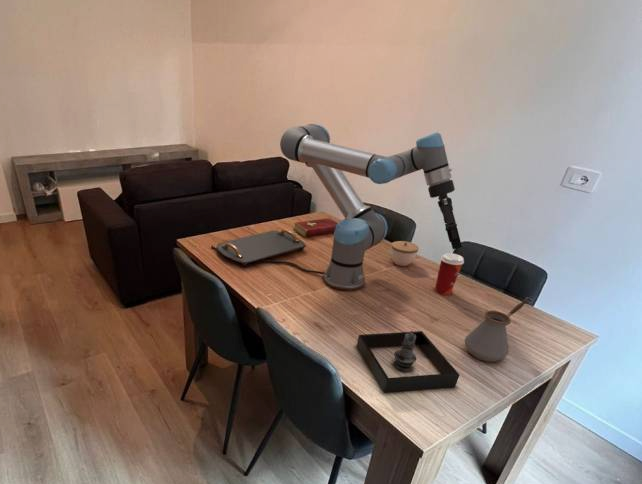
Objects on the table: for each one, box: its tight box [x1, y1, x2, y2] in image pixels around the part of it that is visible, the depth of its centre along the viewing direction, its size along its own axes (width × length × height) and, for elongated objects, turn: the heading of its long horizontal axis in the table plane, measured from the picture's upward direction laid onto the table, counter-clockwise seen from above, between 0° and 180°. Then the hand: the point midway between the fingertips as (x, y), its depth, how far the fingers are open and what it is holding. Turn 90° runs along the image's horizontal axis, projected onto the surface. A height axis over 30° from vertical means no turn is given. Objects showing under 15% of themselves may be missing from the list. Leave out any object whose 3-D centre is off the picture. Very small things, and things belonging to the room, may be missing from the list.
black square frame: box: [356, 330, 460, 394], centre depth 112 cm, size 20×20×4 cm
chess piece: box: [392, 330, 418, 373], centre depth 110 cm, size 6×6×12 cm
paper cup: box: [434, 252, 465, 296], centre depth 148 cm, size 8×8×14 cm
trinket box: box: [390, 240, 420, 267], centre depth 170 cm, size 11×11×9 cm
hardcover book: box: [293, 217, 339, 239], centre depth 201 cm, size 12×21×4 cm, turn 113°
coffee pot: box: [464, 296, 534, 363], centre depth 117 cm, size 21×12×15 cm, turn 121°
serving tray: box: [216, 228, 307, 268], centre depth 178 cm, size 39×23×6 cm, turn 125°
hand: (455, 244), depth 137 cm, fingers open, 13 cm apart
